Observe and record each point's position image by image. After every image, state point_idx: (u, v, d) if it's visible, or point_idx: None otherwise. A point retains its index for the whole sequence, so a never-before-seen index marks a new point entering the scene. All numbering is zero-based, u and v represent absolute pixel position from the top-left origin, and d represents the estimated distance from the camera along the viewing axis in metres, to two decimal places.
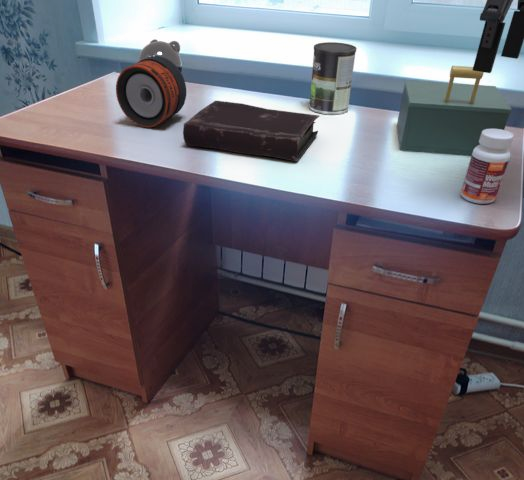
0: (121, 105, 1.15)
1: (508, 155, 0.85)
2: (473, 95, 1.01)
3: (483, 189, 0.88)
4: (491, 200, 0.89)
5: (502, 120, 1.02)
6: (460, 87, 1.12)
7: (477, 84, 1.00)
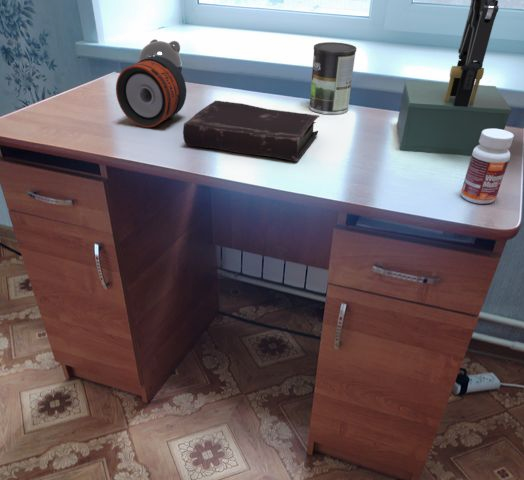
0: (121, 105, 1.15)
1: (508, 155, 0.85)
2: (473, 95, 1.01)
3: (483, 189, 0.88)
4: (491, 200, 0.89)
5: (502, 120, 1.02)
6: None
7: (477, 84, 1.00)
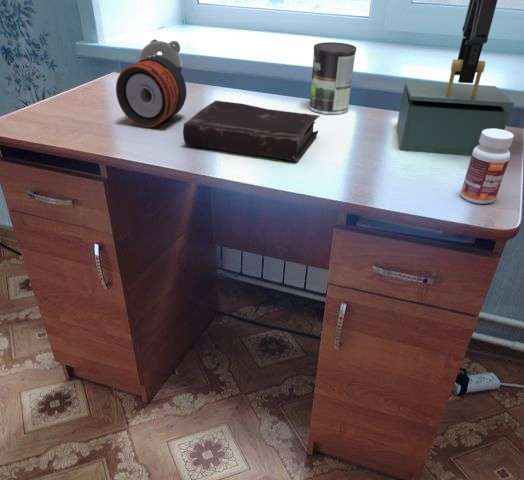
0: (121, 105, 1.15)
1: (508, 155, 0.85)
2: (474, 89, 1.01)
3: (483, 189, 0.88)
4: (491, 200, 0.89)
5: (502, 120, 1.02)
6: (460, 86, 1.12)
7: (478, 78, 1.00)
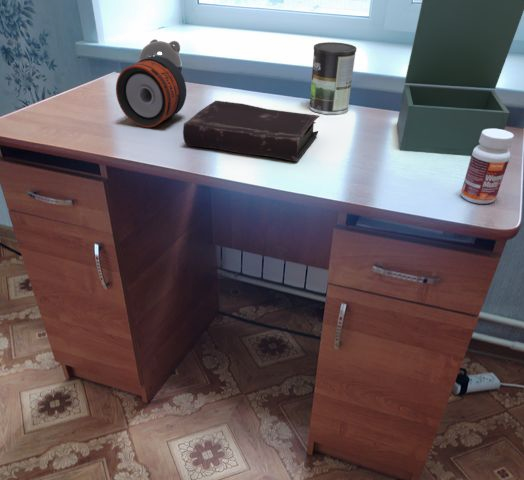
0: (121, 105, 1.15)
1: (508, 155, 0.85)
2: None
3: (483, 189, 0.88)
4: (491, 200, 0.89)
5: (502, 120, 1.02)
6: None
7: None
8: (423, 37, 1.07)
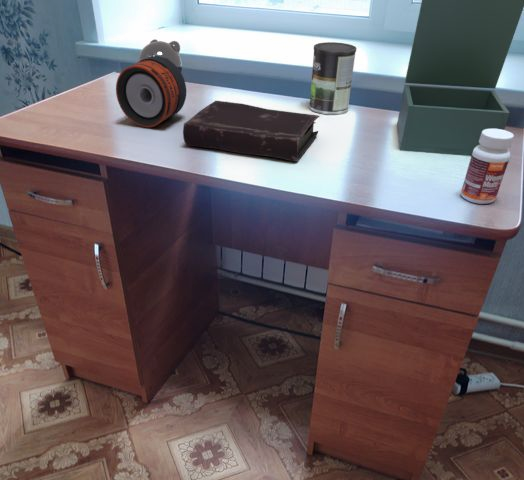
0: (121, 105, 1.15)
1: (508, 155, 0.85)
2: None
3: (483, 189, 0.88)
4: (491, 200, 0.89)
5: (502, 120, 1.02)
6: None
7: None
8: (423, 36, 1.07)
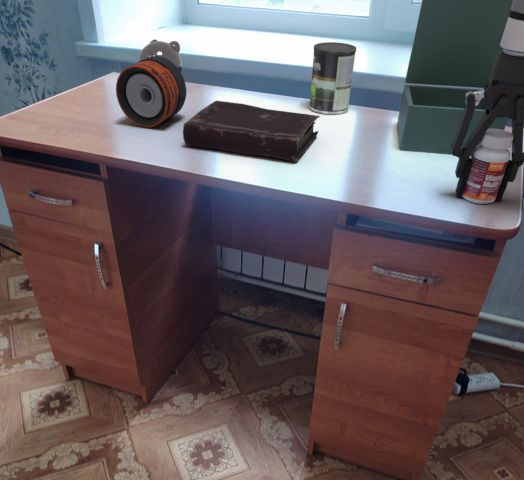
0: (121, 105, 1.15)
1: (508, 155, 0.85)
2: None
3: (483, 189, 0.88)
4: (491, 200, 0.89)
5: (502, 120, 1.02)
6: None
7: None
8: (423, 37, 1.07)
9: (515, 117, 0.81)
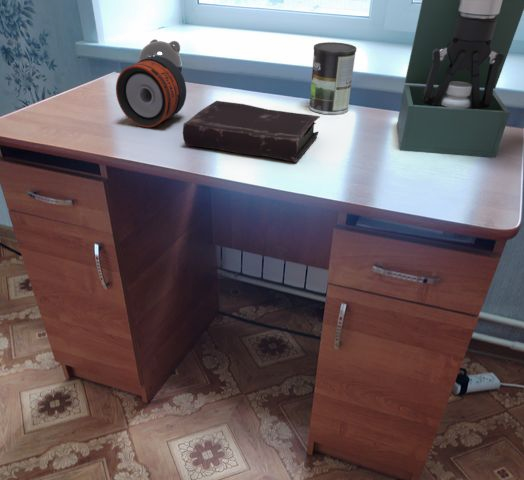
0: (121, 105, 1.15)
1: (468, 102, 1.05)
2: None
3: None
4: None
5: (502, 120, 1.02)
6: (462, 70, 1.12)
7: None
8: (423, 37, 1.07)
9: (472, 69, 1.01)
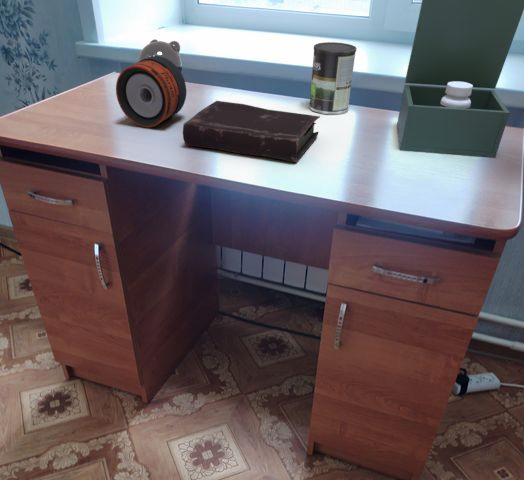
0: (121, 105, 1.15)
1: (468, 102, 1.05)
2: None
3: None
4: None
5: (502, 120, 1.02)
6: None
7: None
8: (423, 37, 1.07)
9: None
